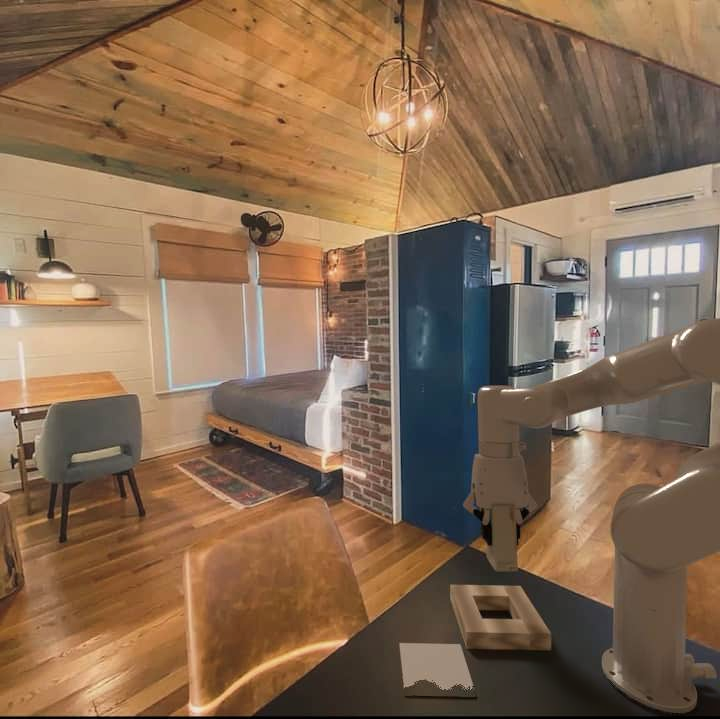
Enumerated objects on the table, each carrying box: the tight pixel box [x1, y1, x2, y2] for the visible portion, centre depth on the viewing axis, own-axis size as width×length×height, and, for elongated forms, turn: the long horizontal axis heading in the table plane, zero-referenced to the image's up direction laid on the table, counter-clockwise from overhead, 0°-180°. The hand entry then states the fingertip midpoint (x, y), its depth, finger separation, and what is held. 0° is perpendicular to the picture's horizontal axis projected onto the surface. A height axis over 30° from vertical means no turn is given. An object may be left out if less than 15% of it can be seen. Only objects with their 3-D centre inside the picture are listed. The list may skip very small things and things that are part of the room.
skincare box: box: [485, 505, 519, 572], centre depth 80 cm, size 6×4×12 cm
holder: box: [449, 584, 552, 651], centre depth 81 cm, size 15×15×3 cm
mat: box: [398, 642, 475, 690], centre depth 69 cm, size 11×11×1 cm
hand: (500, 541), depth 80 cm, fingers closed on skincare box, 4 cm apart
